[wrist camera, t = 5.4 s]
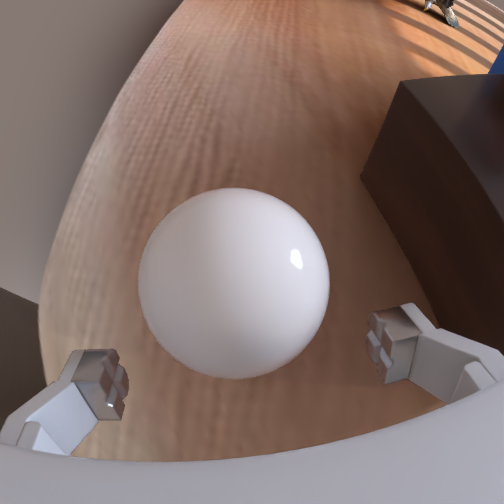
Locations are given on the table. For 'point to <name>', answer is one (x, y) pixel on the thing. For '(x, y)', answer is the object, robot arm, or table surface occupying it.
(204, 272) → the lightbulb
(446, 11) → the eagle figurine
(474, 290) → the dark brown stepped block
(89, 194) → the table surface
